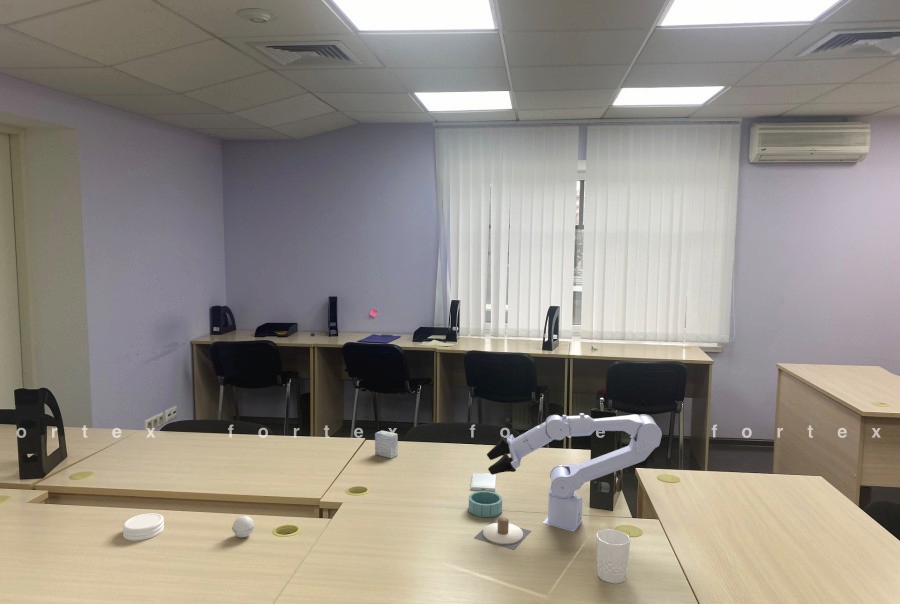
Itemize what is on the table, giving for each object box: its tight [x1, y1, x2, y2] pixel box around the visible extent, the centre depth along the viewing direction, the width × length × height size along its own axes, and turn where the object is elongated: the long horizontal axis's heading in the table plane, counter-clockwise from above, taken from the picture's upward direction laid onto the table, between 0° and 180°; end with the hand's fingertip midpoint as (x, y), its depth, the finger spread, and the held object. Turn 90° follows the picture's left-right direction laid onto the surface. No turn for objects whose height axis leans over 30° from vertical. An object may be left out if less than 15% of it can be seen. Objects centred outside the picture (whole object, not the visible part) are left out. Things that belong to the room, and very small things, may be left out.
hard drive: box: [470, 472, 497, 492], centre depth 195 cm, size 2×8×12 cm
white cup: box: [595, 528, 631, 584], centre depth 140 cm, size 8×8×10 cm
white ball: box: [231, 515, 255, 538], centre depth 156 cm, size 8×6×6 cm
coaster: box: [122, 512, 165, 542], centre depth 158 cm, size 10×10×4 cm
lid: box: [482, 516, 523, 544], centre depth 159 cm, size 11×11×4 cm
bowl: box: [468, 490, 503, 518], centre depth 174 cm, size 10×10×4 cm
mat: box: [473, 520, 532, 551], centre depth 159 cm, size 12×12×1 cm
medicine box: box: [374, 430, 399, 459], centre depth 220 cm, size 8×4×9 cm, turn 58°
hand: (489, 464), depth 169 cm, fingers open, 7 cm apart
